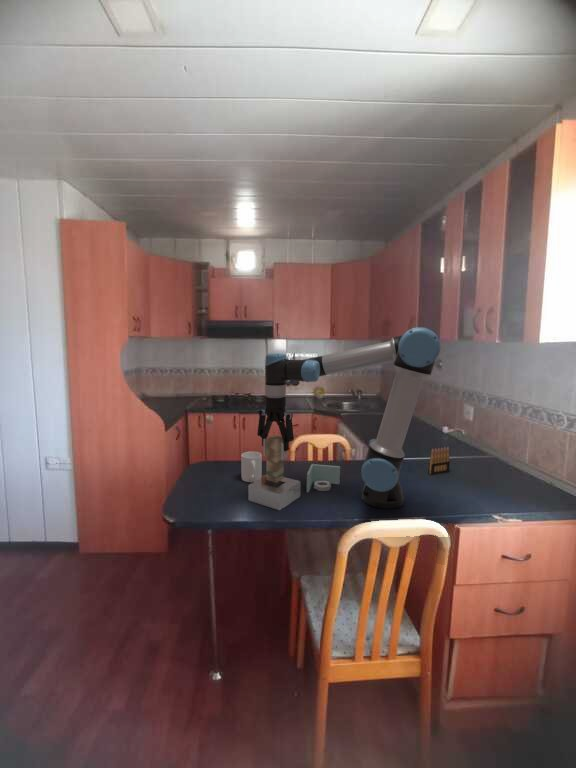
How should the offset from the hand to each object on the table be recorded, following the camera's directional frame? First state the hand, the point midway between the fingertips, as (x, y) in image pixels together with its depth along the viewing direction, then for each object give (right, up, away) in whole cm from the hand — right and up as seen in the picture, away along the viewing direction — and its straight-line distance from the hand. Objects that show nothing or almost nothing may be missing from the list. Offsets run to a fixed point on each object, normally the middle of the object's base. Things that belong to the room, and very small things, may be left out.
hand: (275, 457), depth 135 cm
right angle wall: (+19, -15, +13) cm, 28 cm away
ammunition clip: (+73, -14, +30) cm, 81 cm away
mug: (-10, -14, +19) cm, 26 cm away
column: (0, -9, +1) cm, 9 cm away
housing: (0, -16, +2) cm, 16 cm away
